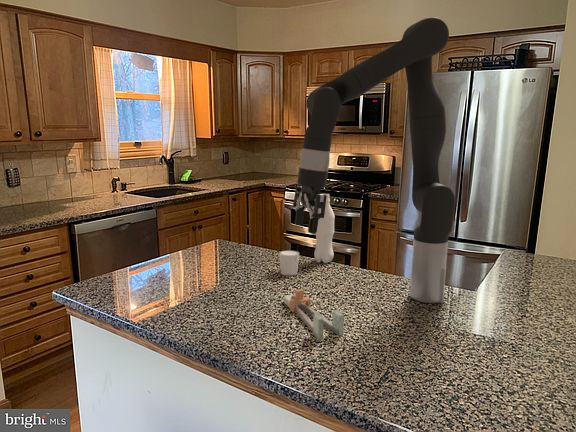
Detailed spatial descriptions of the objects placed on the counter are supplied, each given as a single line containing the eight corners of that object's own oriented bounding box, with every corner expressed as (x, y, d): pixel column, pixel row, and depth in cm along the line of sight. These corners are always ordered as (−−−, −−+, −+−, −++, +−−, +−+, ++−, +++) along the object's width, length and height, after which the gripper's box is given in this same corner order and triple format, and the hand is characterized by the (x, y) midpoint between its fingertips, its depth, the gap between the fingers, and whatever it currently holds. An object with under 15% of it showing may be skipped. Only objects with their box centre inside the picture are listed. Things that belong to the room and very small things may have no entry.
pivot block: (283, 302, 119) (283, 294, 119) (298, 300, 121) (298, 292, 120) (289, 308, 115) (289, 299, 115) (304, 305, 117) (304, 297, 117)
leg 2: (300, 306, 116) (300, 289, 115) (304, 305, 117) (304, 288, 116) (338, 336, 100) (339, 316, 99) (343, 334, 100) (343, 315, 99)
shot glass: (297, 276, 141) (297, 256, 139) (276, 275, 142) (276, 255, 141) (300, 270, 147) (300, 250, 146) (281, 268, 148) (281, 249, 147)
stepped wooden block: (289, 309, 115) (289, 291, 114) (307, 306, 117) (307, 288, 116) (292, 312, 113) (292, 293, 112) (310, 309, 115) (310, 290, 114)
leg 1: (290, 308, 115) (290, 290, 114) (295, 307, 116) (295, 290, 115) (318, 340, 98) (318, 319, 97) (323, 339, 98) (323, 318, 97)
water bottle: (311, 262, 155) (312, 195, 151) (317, 257, 162) (318, 192, 157) (330, 265, 153) (332, 196, 148) (335, 259, 159) (337, 193, 154)
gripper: (339, 172, 105) (330, 236, 108) (314, 166, 117) (306, 223, 120) (312, 169, 102) (303, 235, 105) (289, 163, 114) (282, 222, 117)
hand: (305, 228), depth 112 cm, fingers open, 8 cm apart
